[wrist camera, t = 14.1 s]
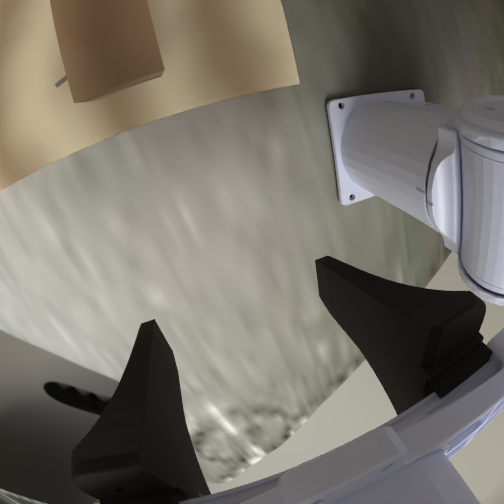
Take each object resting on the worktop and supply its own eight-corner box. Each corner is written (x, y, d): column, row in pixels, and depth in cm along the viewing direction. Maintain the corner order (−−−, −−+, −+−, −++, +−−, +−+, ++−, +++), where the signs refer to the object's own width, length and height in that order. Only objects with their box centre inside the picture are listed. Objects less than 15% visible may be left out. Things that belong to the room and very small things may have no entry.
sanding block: (132, -38, 11) (130, -75, 7) (161, 76, 15) (164, 69, 11) (66, -14, 10) (43, -43, 6) (94, 101, 15) (74, 103, 10)
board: (250, -79, 12) (255, -85, 11) (293, 84, 18) (299, 83, 18) (-38, 21, 9) (-45, 19, 8) (3, 187, 15) (-3, 192, 15)
